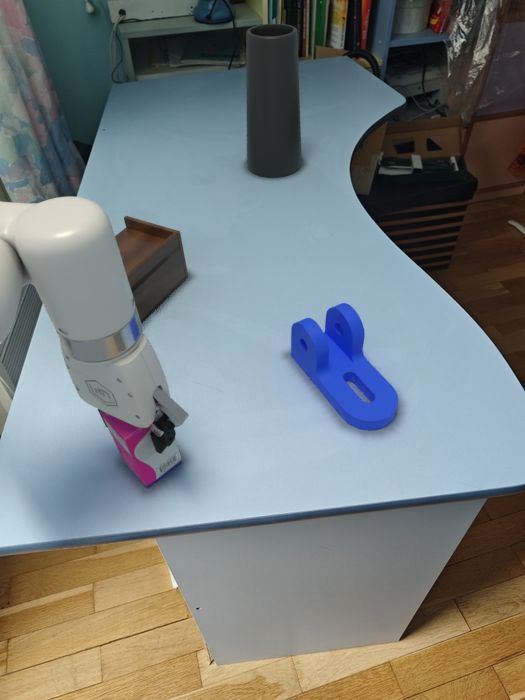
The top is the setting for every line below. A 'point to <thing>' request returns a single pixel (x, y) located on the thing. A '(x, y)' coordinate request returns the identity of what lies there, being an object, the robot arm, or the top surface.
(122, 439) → the supplement box
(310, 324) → the bracket
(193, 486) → the top surface
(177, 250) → the wooden crate
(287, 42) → the vase
